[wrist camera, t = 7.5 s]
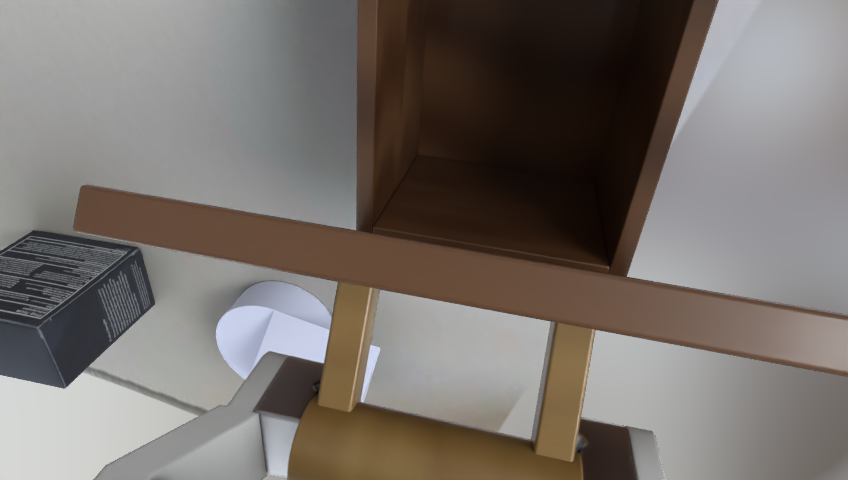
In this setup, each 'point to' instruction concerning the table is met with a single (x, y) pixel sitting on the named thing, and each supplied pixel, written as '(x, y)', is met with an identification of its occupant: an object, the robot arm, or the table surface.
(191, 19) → the table surface
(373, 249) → the lid
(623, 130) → the brown wooden open box
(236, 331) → the wedge on round base
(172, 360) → the table surface
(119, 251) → the small box
